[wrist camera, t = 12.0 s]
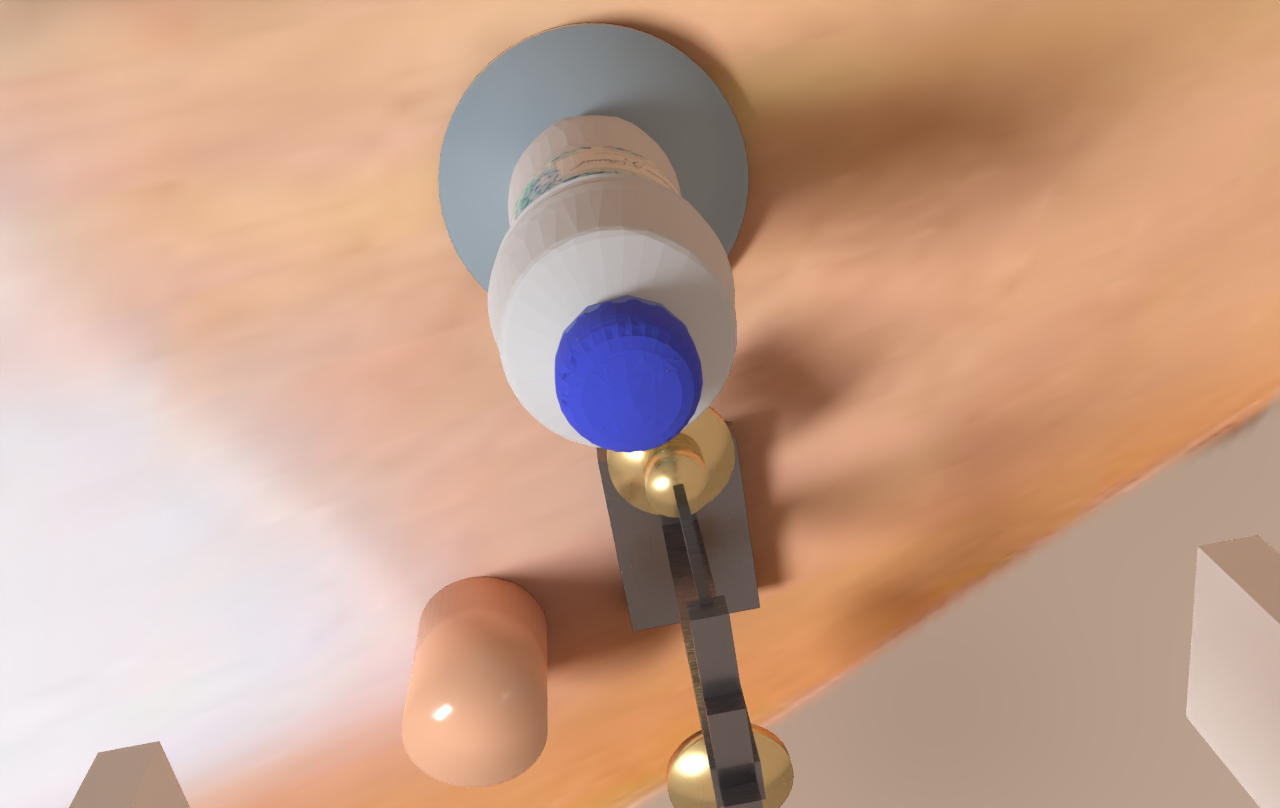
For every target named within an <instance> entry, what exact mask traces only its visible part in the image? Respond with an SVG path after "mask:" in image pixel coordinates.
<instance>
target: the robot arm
mask: <svg viewBox="0 0 1280 808" xmlns="http://www.w3.org/2000/svg"><path fill="white" fill-rule="evenodd" d="M1191 639H1192V640H1191V653H1190V668H1189V682H1188V696H1187V710H1186V717H1187V718H1188V719H1189V720H1190V722H1191V723H1192V724H1193V725H1194V727H1195V728H1196V729H1197V730H1198V732H1199V733H1200V734H1201V735H1202V737H1203V738H1204V739H1205V740H1206V741H1207V743H1208V744H1209V745H1210V746H1211V747H1212V749H1213V750H1214V751H1215V752H1216V754H1217V755H1218V756H1219V757H1220V759H1221V760H1222V761H1223V762H1224V764H1225V765H1226V766H1227V767H1228V769H1229V770H1230V771H1231V772H1232V773H1233V775H1234V776H1235V777H1236V778H1237V780H1238V781H1239V782H1240V783H1241V785H1242V786H1243V787H1244V788H1245V789H1246V791H1247V792H1248V793H1249V794H1250V796H1251V797H1252V798H1253V799H1254V801H1255V802H1256V803H1257V804H1258V805H1259V807H1260V808H1280V553H1278V552H1277V551H1276V550H1275V549H1274V548H1272V547H1271V546H1270V545H1269V544H1268V543H1267V542H1265V541H1264V540H1263V539H1262V538H1261V537H1260V536H1258V535H1255V536H1250V537H1245V538H1239V539H1234V540H1228V541H1223V542H1218V543H1213V544H1207V545H1202V546H1198V552H1197V566H1196V582H1195V596H1194V609H1193V624H1192V638H1191ZM69 808H190V807H189V804H188V802H187V800H186V798H185V796H184V794H183V791H182V789H181V787H180V785H179V783H178V781H177V778H176V776H175V774H174V772H173V770H172V768H171V765H170V763H169V761H168V759H167V757H166V755H165V752H164V750H163V748H162V746H161V744H160V742H159V741H158V742H153V743H148V744H142V745H137V746H132V747H126V748H121V749H116V750H110V751H105V752H100V753H98V754H97V756H96V758H95V760H94V762H93V763H92V765H91V767H90V769H89V771H88V773H87V775H86V777H85V779H84V780H83V782H82V784H81V786H80V788H79V790H78V792H77V794H76V796H75V797H74V799H73V801H72V803H71V805H70V807H69Z"/></svg>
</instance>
